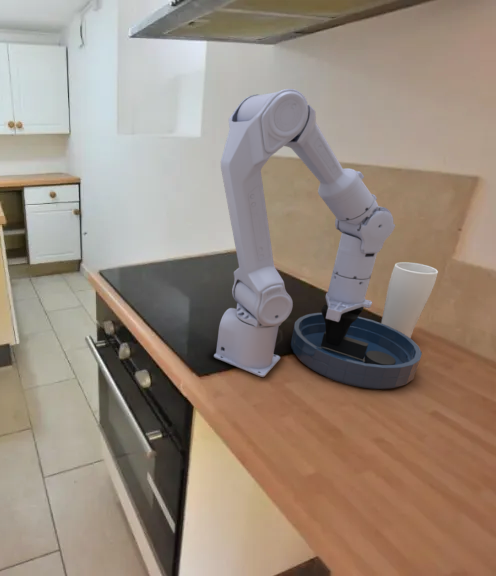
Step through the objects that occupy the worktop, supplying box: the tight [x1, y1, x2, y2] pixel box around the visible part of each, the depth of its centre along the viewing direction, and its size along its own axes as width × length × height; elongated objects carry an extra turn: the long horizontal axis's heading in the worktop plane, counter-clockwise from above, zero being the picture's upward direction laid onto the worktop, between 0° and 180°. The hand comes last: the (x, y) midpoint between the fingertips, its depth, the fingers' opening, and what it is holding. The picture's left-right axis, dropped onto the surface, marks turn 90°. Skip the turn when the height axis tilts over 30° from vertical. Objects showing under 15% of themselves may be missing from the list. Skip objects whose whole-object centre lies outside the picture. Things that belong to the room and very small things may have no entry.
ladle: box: [321, 331, 396, 365], centre depth 69 cm, size 12×4×3 cm, turn 48°
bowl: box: [290, 312, 423, 390], centre depth 69 cm, size 20×20×4 cm
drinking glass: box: [380, 261, 439, 339], centre depth 75 cm, size 7×7×15 cm
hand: (334, 341), depth 71 cm, fingers closed on ladle
